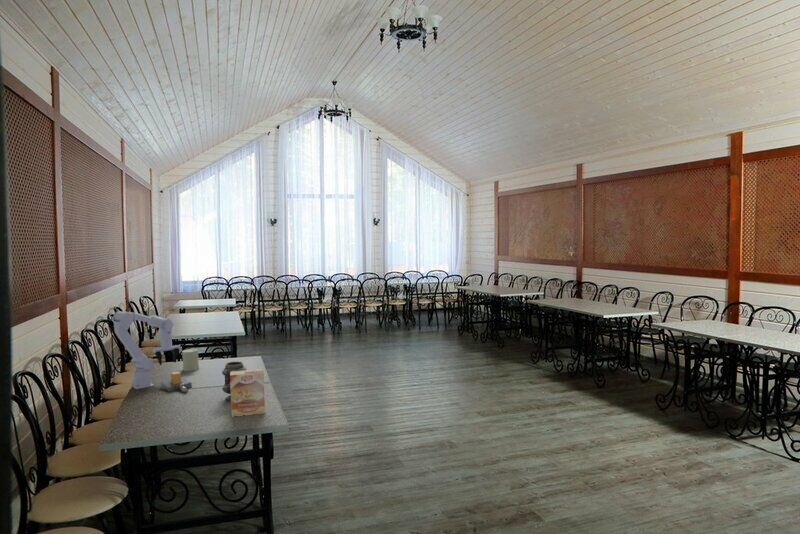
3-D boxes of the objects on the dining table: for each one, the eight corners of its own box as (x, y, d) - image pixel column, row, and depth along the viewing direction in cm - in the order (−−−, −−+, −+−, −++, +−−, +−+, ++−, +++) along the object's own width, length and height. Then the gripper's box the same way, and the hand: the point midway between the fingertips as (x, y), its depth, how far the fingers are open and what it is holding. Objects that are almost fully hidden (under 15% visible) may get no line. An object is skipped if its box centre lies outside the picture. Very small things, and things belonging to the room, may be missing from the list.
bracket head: (174, 395, 285) (173, 390, 284) (161, 387, 300) (161, 382, 299) (197, 390, 292) (197, 385, 292) (183, 382, 307) (183, 378, 307)
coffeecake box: (231, 417, 250) (229, 375, 249) (231, 412, 257) (229, 371, 256) (265, 413, 254) (263, 372, 253) (264, 408, 261) (263, 368, 260)
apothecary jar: (252, 395, 282) (250, 360, 281) (239, 402, 270) (237, 366, 269) (231, 393, 285) (230, 359, 284) (217, 401, 274) (216, 365, 272)
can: (195, 371, 332) (194, 351, 331) (180, 371, 332) (179, 351, 331) (201, 367, 341) (200, 347, 340) (186, 367, 342) (185, 348, 341)
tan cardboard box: (174, 388, 296) (173, 374, 296) (171, 387, 299) (170, 372, 299) (181, 387, 299) (180, 372, 298) (179, 385, 302) (178, 371, 301)
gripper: (155, 342, 305) (156, 366, 306) (181, 338, 315) (182, 362, 316) (151, 340, 310) (152, 364, 311) (177, 337, 320) (178, 360, 321)
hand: (167, 363), depth 314 cm, fingers open, 7 cm apart
